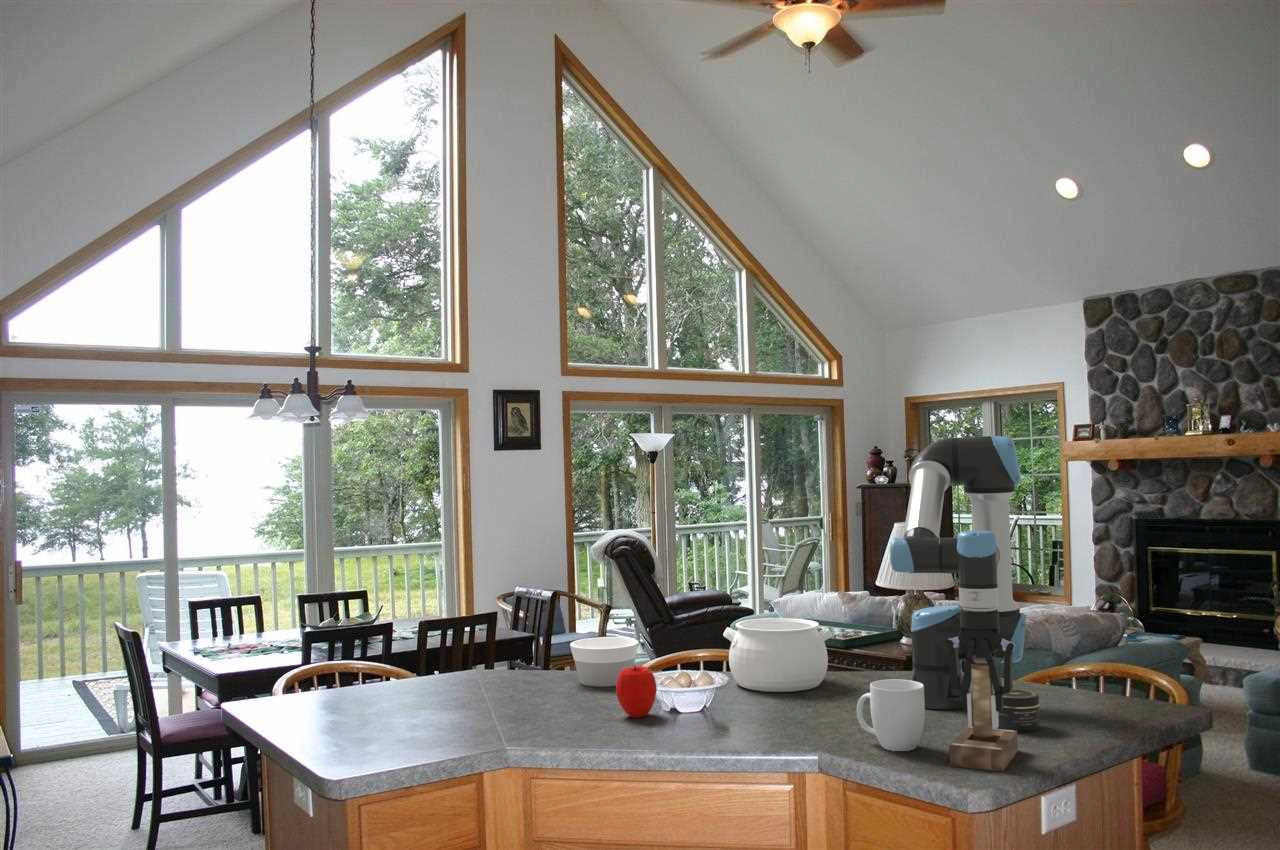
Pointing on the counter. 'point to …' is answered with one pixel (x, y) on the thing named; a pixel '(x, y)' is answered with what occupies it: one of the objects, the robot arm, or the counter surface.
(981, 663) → the dowel
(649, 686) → the apple
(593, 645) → the bowl
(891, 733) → the mug
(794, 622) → the pot
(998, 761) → the socket board
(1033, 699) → the jar
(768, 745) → the counter surface
